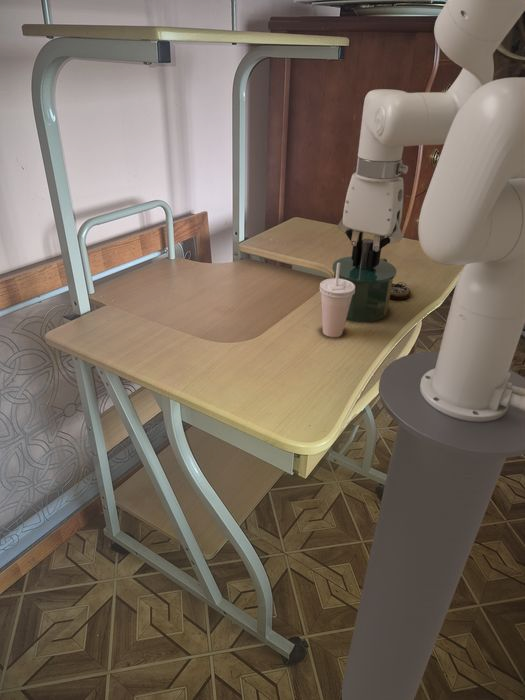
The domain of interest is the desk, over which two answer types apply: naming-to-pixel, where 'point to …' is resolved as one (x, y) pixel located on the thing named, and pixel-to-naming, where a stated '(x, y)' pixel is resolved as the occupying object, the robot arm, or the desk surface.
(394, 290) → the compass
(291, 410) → the desk surface
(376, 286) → the pot
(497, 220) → the robot arm
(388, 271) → the lid
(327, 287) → the smoothie
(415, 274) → the desk surface
